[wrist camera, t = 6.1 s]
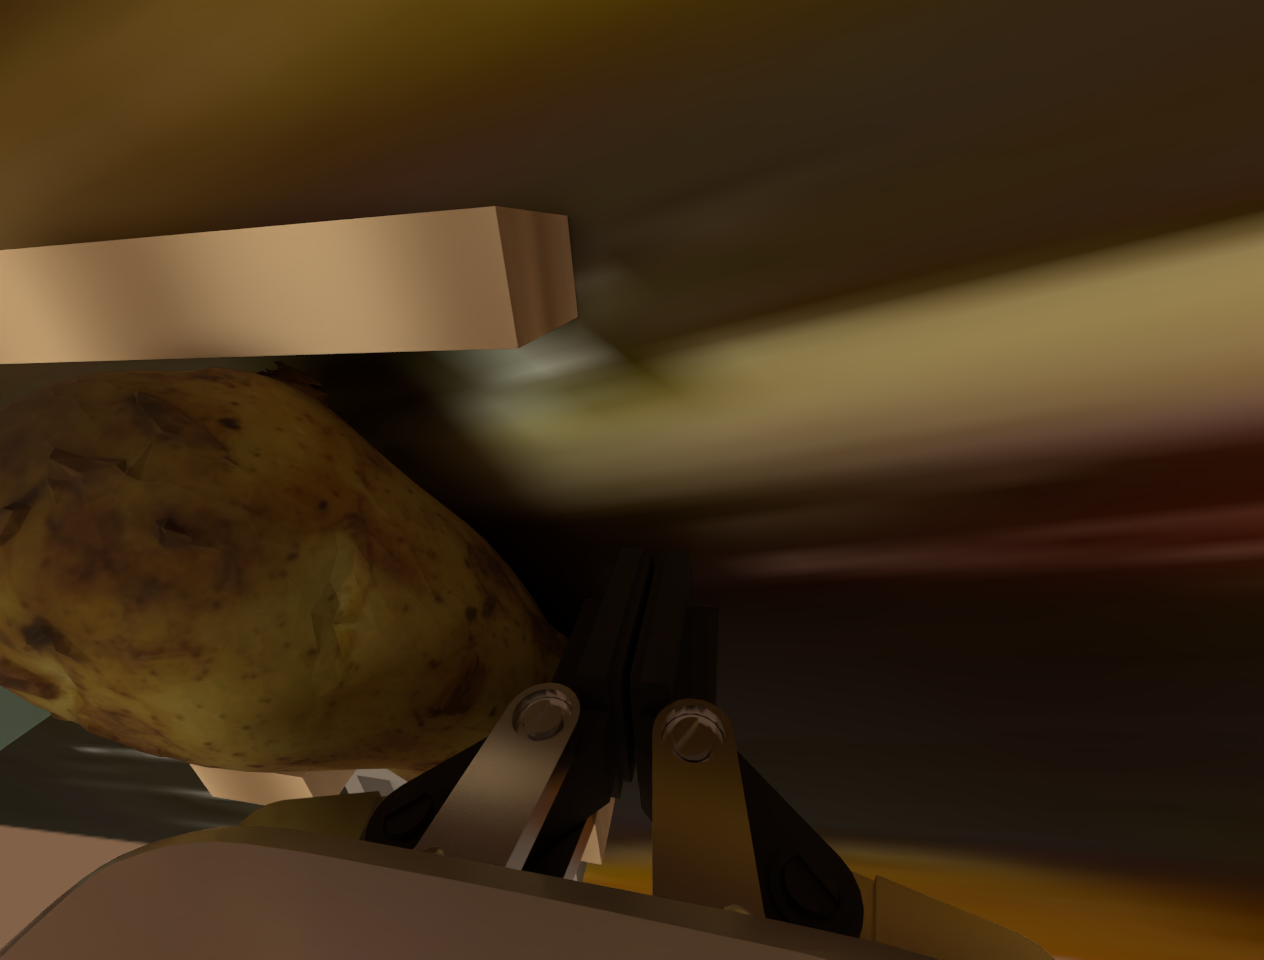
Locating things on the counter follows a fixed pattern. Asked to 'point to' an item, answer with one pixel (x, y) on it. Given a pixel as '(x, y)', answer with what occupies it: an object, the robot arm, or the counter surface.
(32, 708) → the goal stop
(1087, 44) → the counter surface
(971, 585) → the counter surface
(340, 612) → the potato
